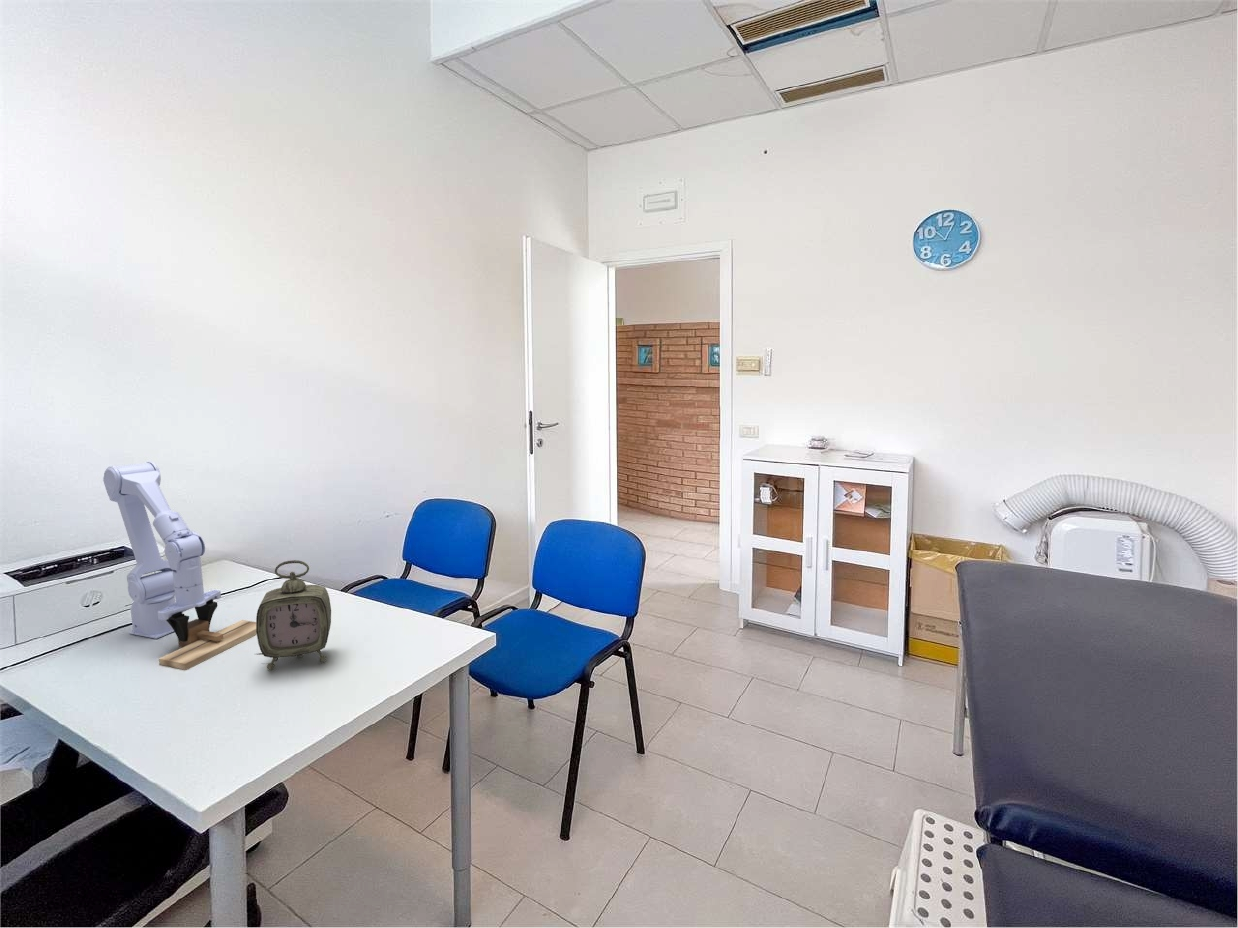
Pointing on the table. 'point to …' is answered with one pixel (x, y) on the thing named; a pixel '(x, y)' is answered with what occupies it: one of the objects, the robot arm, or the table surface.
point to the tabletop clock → (293, 618)
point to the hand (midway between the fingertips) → (194, 635)
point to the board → (209, 646)
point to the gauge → (199, 632)
